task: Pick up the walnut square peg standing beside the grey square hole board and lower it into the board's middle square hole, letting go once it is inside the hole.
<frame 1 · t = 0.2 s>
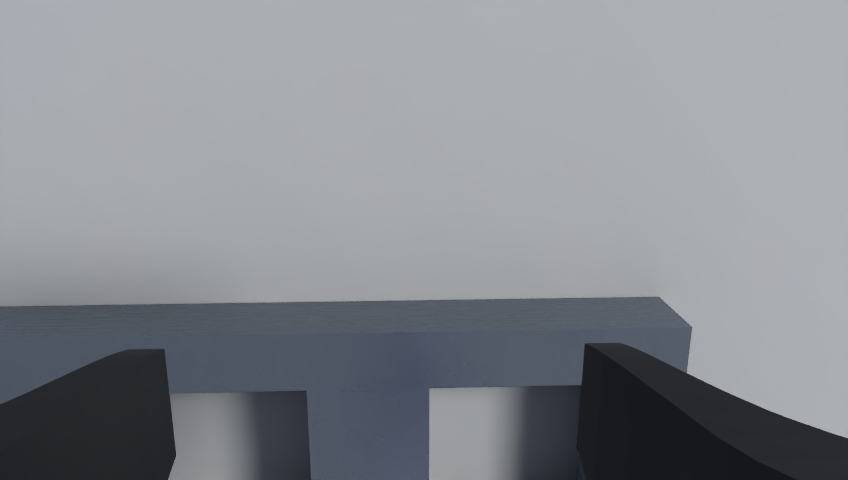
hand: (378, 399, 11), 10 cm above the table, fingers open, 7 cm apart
grey square hole board: (239, 428, 22), on the table
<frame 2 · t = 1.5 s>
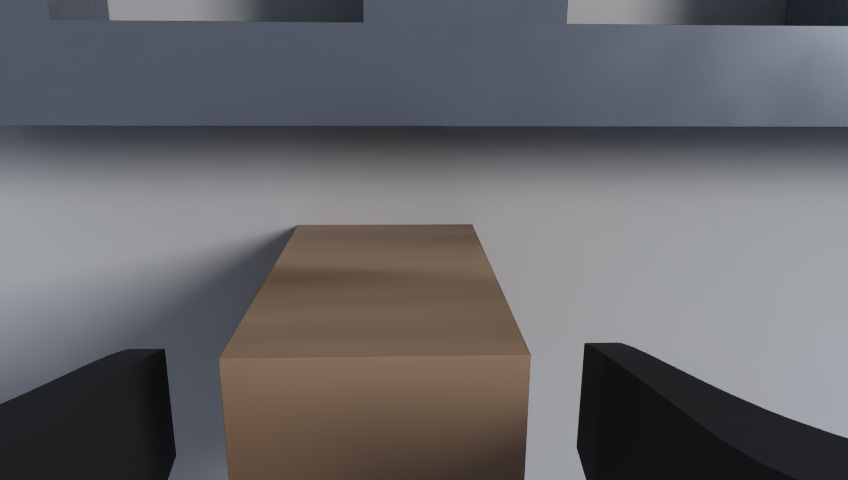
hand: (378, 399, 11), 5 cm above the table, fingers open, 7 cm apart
square peg: (386, 306, 16), on the table
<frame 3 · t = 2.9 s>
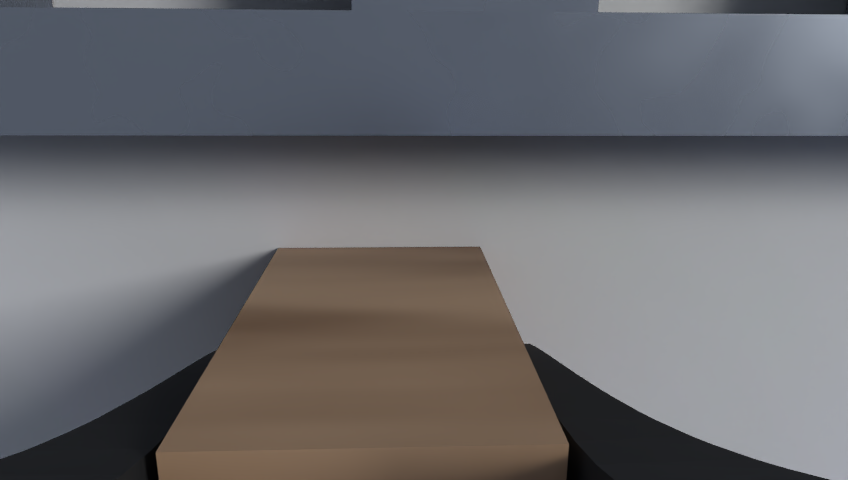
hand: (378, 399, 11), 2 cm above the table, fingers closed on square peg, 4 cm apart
square peg: (380, 340, 14), on the table, touching gripper
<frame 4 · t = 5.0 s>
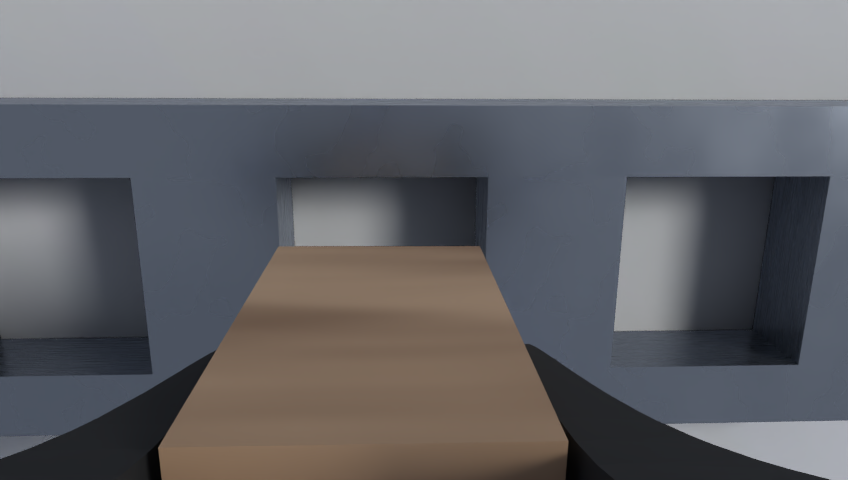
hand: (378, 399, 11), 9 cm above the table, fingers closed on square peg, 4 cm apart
grey square hole board: (385, 251, 20), on the table
square peg: (380, 339, 14), point 6 cm above the table, touching gripper
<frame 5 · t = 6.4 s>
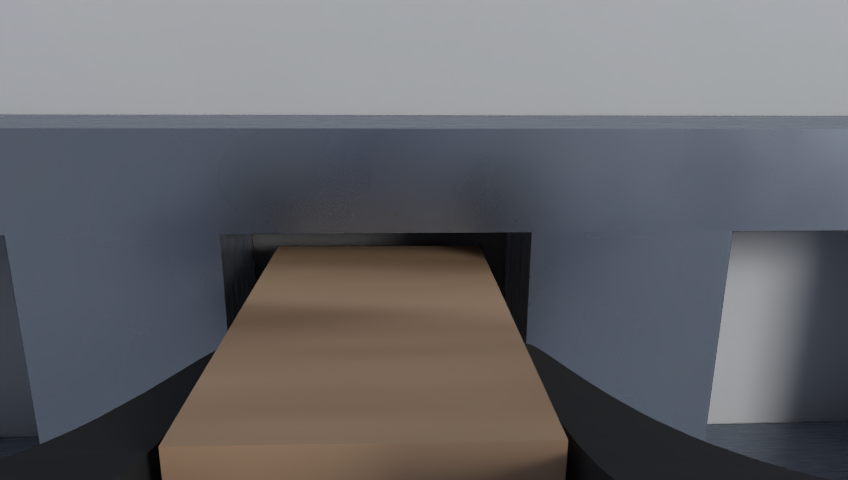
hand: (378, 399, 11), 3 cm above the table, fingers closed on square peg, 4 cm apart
grey square hole board: (381, 322, 15), on the table
square peg: (380, 338, 14), point 1 cm above the table, touching gripper
when the fingers open (3 cm above the table, at t = 7.3 s): square peg stays where it is, resting in grey square hole board.
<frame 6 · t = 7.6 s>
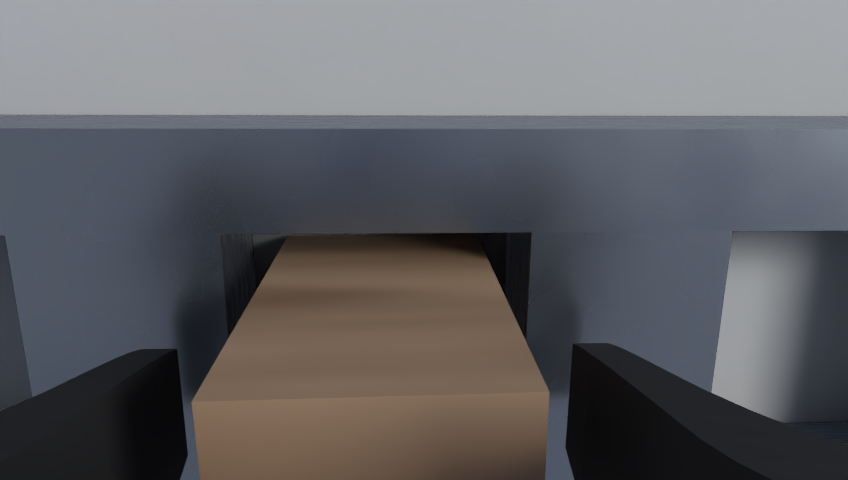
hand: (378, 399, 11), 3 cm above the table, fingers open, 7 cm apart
grey square hole board: (381, 322, 15), on the table
square peg: (384, 321, 15), resting in grey square hole board
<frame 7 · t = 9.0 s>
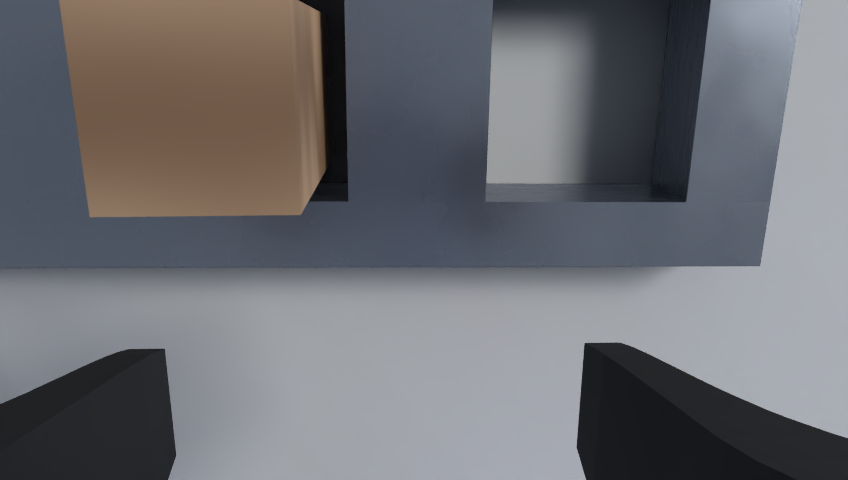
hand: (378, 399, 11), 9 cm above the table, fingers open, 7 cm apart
grey square hole board: (256, 89, 19), on the table
square peg: (259, 89, 19), resting in grey square hole board
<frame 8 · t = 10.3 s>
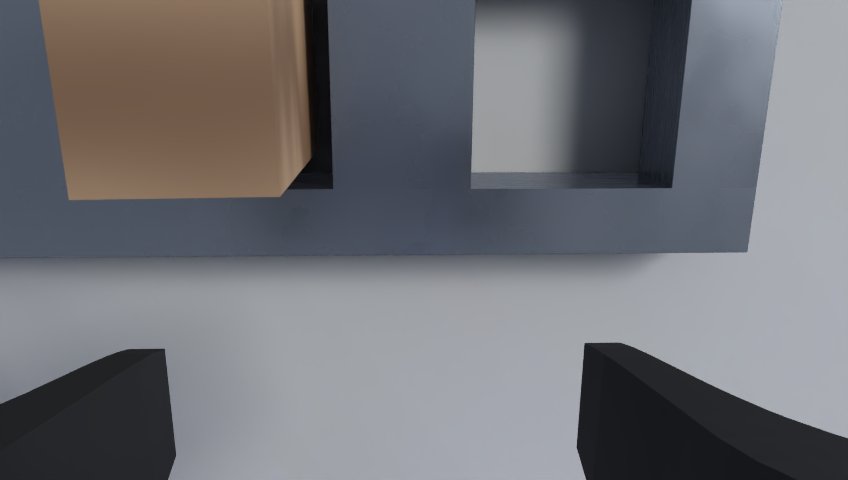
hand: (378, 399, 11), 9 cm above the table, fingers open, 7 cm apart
grey square hole board: (242, 79, 19), on the table
square peg: (245, 79, 19), resting in grey square hole board
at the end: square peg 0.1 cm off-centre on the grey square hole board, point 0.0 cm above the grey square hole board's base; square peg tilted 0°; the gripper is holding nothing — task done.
